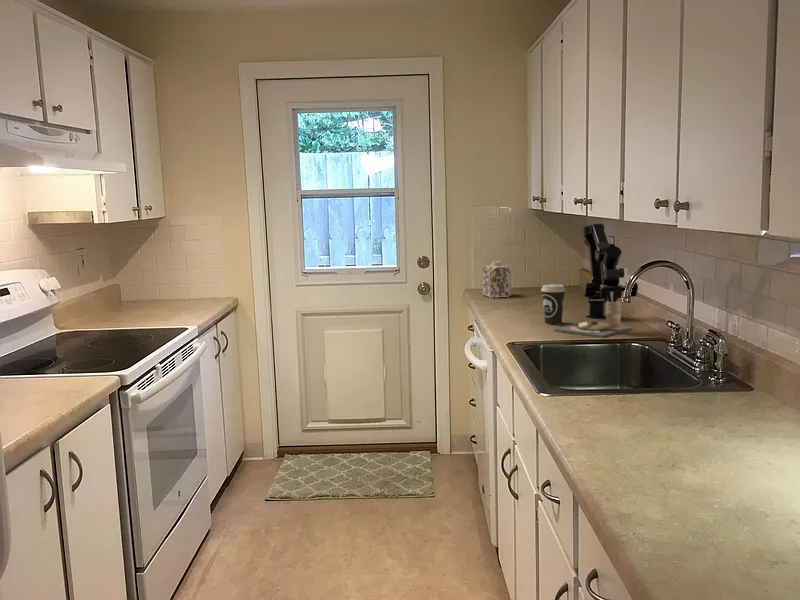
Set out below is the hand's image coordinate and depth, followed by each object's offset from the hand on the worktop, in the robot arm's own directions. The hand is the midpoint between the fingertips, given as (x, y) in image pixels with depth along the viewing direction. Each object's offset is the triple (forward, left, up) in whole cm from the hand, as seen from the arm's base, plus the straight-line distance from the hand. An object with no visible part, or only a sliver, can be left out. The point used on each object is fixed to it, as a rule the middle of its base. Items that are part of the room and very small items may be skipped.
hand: (612, 307), depth 252 cm
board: (+2, -7, -9) cm, 11 cm away
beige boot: (+4, -4, -8) cm, 9 cm away
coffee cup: (-2, -27, -9) cm, 29 cm away
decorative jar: (-46, -93, -9) cm, 104 cm away
